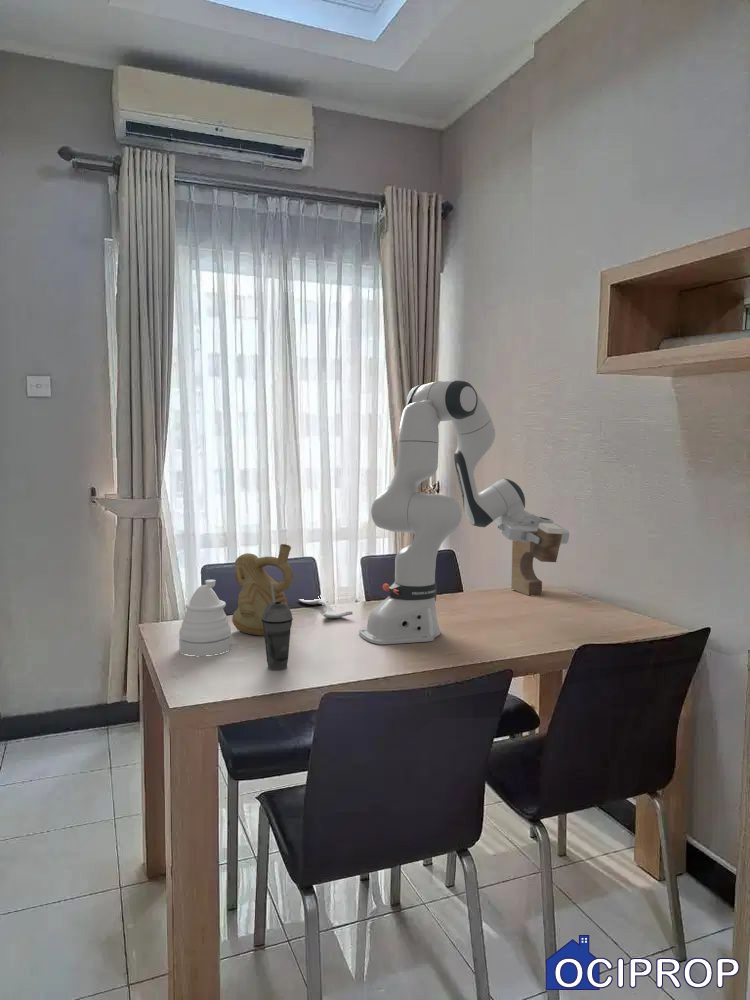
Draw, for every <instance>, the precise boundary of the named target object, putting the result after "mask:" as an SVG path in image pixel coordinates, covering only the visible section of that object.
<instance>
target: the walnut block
mask: <svg viewBox="0 0 750 1000" xmlns="http://www.w3.org/2000/svg"><path fill="white" fill-rule="evenodd" d="M555 524H556V523H555ZM555 524H548V523H539V526H538V530H537V535H536V536H540V537H541V538H542V543H541V544H536V543H535V544H534V549H533V554H532V556H533V557H534V558H535V559H536V560H538V561H539V562H542V563H557V561H558V560H557V559H558V557H559V556H558V555H559V550H560V546H561V545H560V542H561V538H562V533H563V529H562V528H561V527H562V526H561V527H559V526H560V525H559V526H557V525H558V524H557V525H555Z"/></svg>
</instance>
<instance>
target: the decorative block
mask: <svg viewBox="0 0 750 1000" xmlns="http://www.w3.org/2000/svg"><path fill="white" fill-rule="evenodd" d="M511 541H512V547H511V548H512V549H511V552H512V553H511V559H512V560H511V590H512V589H514V590H516V591H515V592H517V591H518V592H517V593H520V592H521V593H520V594H523V595H525V594H527V595H526V596H528V595H529V597H532V596H531V595H534V596H541V595H543V581H542V580H540V579H539V578H538V577H537V575H536V573H535V571H534V565H533V564H534V558H535V557H533V556H532V554H533V549H534V544H535V542H527V543H524V542H521V541H514V540H511ZM514 590H513V591H514Z"/></svg>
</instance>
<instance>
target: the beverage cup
mask: <svg viewBox="0 0 750 1000" xmlns="http://www.w3.org/2000/svg"><path fill="white" fill-rule="evenodd" d="M271 591H272V599H273V603H271V604H269V605H268V606H267V607H266V608H265V610H264V612H263V615H262V624H263V629H264V644H265V654H266V663H267V669H268V670H271V671H283V670H286V669H287V668H288V663H289V662H288V661H289V653H290V652H289V651H290V640H291V628H292V624H293V620H294V619H293V614H292V611H291V609H290V607H289V605H288V604H287V605H288V606H287V605H286V604H284V603H282V602H275V597H274V589H273V584H271Z"/></svg>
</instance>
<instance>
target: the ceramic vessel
mask: <svg viewBox="0 0 750 1000" xmlns="http://www.w3.org/2000/svg"><path fill="white" fill-rule="evenodd" d="M291 550H292V546H291V545H289V544H285V543H281V544H280V545H279V552H278V556H277V557H275V556H261V557H258V556H257V555H256V554H254V553H250V552H249V553H244V554H243V553H242V554H241V555H239V556H238V557H237V558H236V559H235V562H234V567H235V569H234V576H235V577H234V578H235V582H236V583H237V584H238V585H239V586H241V587H242V588H241V590H240V591H239V594H238V597H237V606H238V607H237V609H236V610H235V611H234V612H233V614H232V617H231V618H232V619H231V621H232V624H233V625H234V627H235V628H236V630H237V631H238V632H241V633H242V632H243V633H245V634H249V635H252V634H253V636H262V635H264V629H263V624H262V615H263V612H264V610H265V608H266V607H267V606H268V605H269V604H271V603H273V599H272V591H271V584H273V589H274V597H275V602H282V603H284V604H286V605H287V606H288V607H289V605H288V601H287V598H286V595H285V594H286V593H285V591H287V590H288V589H290V586H291V585H292V583H293V580H294V575H293V573H294V572H293V569H292V567H291V565H290V564H289V563H288V560H289V556H290V552H291ZM267 566H272V567H276V568H277V569H279V570H281V573H282V575H283V578H282V580H281V581H280V582H277V581H276V580H274V579H273V578H272V577H271V576H270V575H269V574H268V573H267V571H266V570H265V568H264V567H267ZM264 636H265V635H264Z"/></svg>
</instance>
